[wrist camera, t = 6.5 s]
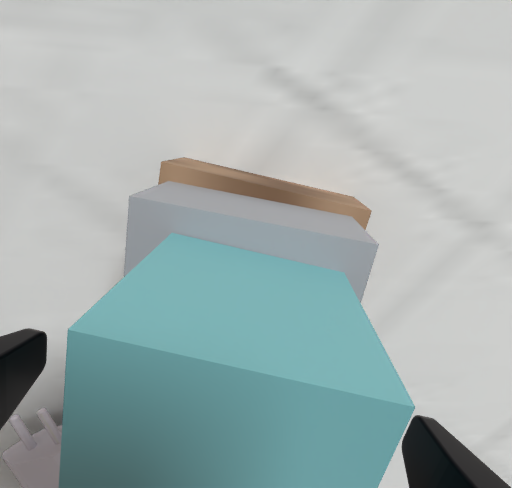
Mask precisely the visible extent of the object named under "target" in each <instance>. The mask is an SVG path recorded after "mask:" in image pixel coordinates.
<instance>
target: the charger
mask: <svg viewBox="0 0 512 488" xmlns="http://www.w3.org/2000/svg"><path fill="white" fill-rule="evenodd" d="M36 414H37V416H38V418H39V419H40V421H41V423H42V424H43V426H44V427H45V429H42V430H40V431H39V432H37V433H35V434H33V435H31V434H30V432H29V430H28V429H27V427H26V426H25V424H24V423H23V421H22V419H21V418H20V416H19V415H17V414H16V415H13V416H12V417H10V419H9V422H10V423H11V425H12V427H13V428H14V430H15V431H16V433H17V434H18V436H19V437H20V439H21V441H19V442H17V443H15V444H14V445H13V446H11V447H10V448H8V449H7V450H6V451H4V452H3V456H2V458H3V460H4V461H5V463H6V464H7V465H8V467H9V468H10V470H11V471H12V473H13V474H14V476H15V477H16V479H17V480H18V482H19V483H20V485H21V486H22V488H59V471H60V454H61V438H62V425H59V426H56V424H55V422H54V421H53V419H52V417H51V416H50V414H49V412H48V411H47V409H46V408H41V409H40V410H38V411H37V413H36Z"/></svg>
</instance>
